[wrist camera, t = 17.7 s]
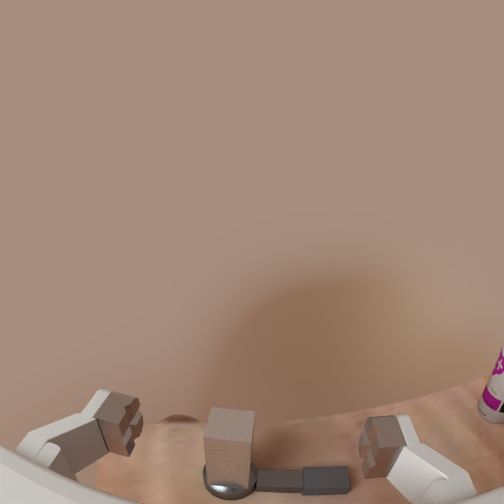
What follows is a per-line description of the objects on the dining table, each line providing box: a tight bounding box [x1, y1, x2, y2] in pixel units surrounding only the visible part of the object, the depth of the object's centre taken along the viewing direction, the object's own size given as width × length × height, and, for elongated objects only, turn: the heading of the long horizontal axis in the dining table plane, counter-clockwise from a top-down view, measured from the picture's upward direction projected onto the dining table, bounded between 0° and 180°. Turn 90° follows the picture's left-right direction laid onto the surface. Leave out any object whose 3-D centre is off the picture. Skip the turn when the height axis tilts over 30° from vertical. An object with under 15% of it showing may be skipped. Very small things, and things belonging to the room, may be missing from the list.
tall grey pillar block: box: [203, 407, 255, 489], centre depth 33 cm, size 5×5×10 cm
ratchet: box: [203, 461, 350, 500], centre depth 33 cm, size 19×7×6 cm, turn 85°
